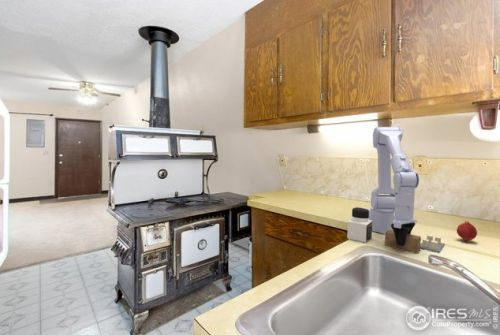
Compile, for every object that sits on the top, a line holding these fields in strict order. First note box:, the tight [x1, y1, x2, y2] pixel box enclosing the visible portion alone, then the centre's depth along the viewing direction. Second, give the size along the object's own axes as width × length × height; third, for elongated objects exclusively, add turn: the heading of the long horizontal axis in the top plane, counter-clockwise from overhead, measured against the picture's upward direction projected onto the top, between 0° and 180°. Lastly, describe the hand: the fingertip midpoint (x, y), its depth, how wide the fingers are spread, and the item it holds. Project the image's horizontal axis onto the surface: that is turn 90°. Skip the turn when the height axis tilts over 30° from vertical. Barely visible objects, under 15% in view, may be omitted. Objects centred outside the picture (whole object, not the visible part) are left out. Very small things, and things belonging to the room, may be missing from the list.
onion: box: [456, 220, 478, 242], centre depth 95 cm, size 6×6×8 cm
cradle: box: [420, 234, 446, 254], centre depth 90 cm, size 10×6×3 cm, turn 134°
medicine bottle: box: [347, 206, 373, 244], centre depth 98 cm, size 7×7×12 cm
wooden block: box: [384, 230, 422, 255], centre depth 89 cm, size 10×4×5 cm, turn 44°
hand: (402, 243), depth 89 cm, fingers closed on wooden block, 4 cm apart
